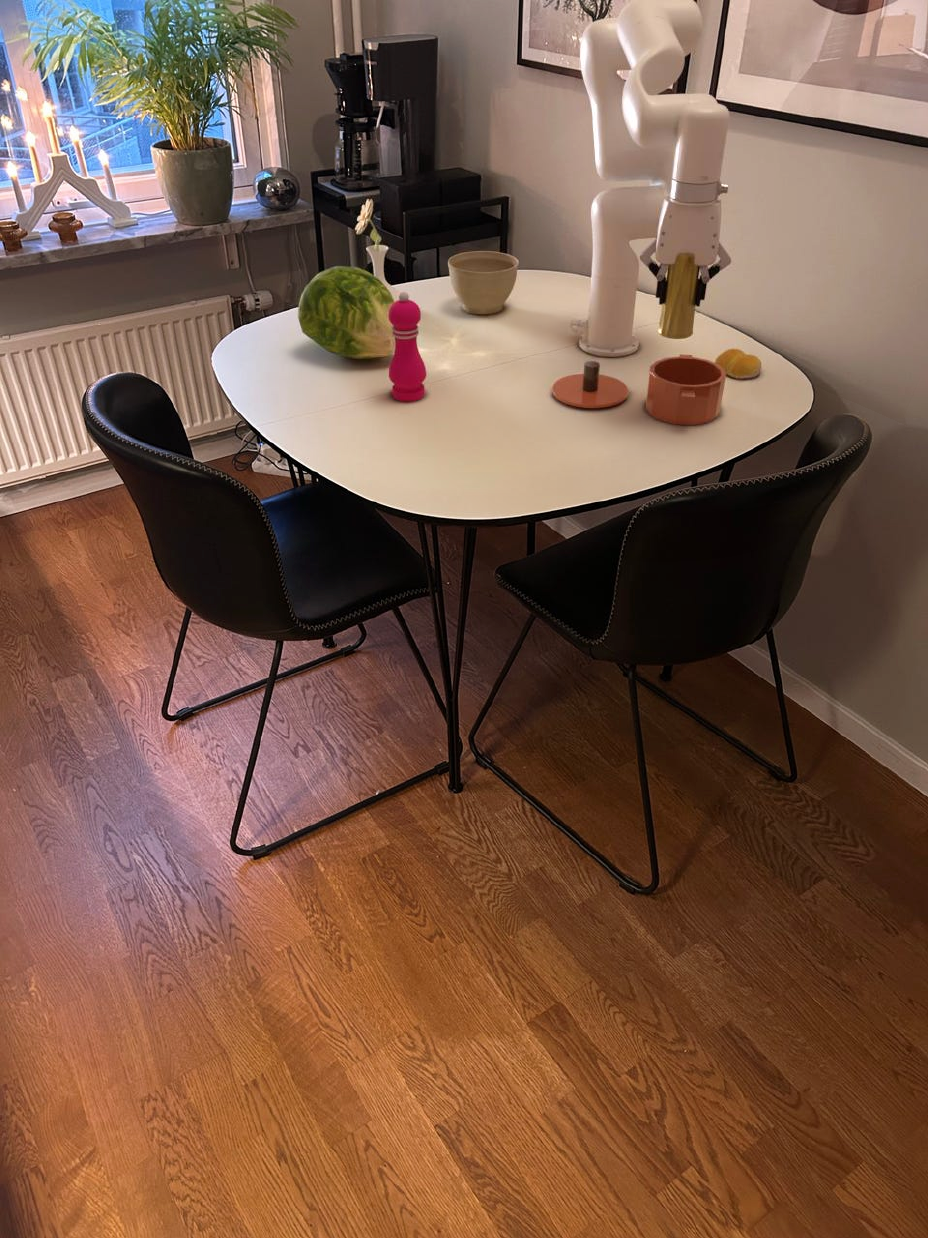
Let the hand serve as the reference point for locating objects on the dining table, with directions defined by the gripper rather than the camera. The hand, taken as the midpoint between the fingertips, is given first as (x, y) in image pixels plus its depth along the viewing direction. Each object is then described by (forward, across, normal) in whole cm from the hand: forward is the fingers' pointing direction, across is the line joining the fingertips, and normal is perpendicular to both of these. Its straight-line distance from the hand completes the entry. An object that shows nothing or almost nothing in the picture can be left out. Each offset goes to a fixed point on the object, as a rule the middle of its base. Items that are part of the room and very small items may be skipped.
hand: (679, 301), depth 160 cm
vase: (+6, 0, 0) cm, 6 cm away
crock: (+21, -3, -3) cm, 22 cm away
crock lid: (+21, +14, -7) cm, 26 cm away
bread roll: (+21, -14, -22) cm, 34 cm away
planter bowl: (+22, +42, -51) cm, 70 cm away
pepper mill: (+21, +49, -1) cm, 54 cm away
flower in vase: (+22, +66, -46) cm, 84 cm away
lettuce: (+22, +65, -20) cm, 71 cm away
